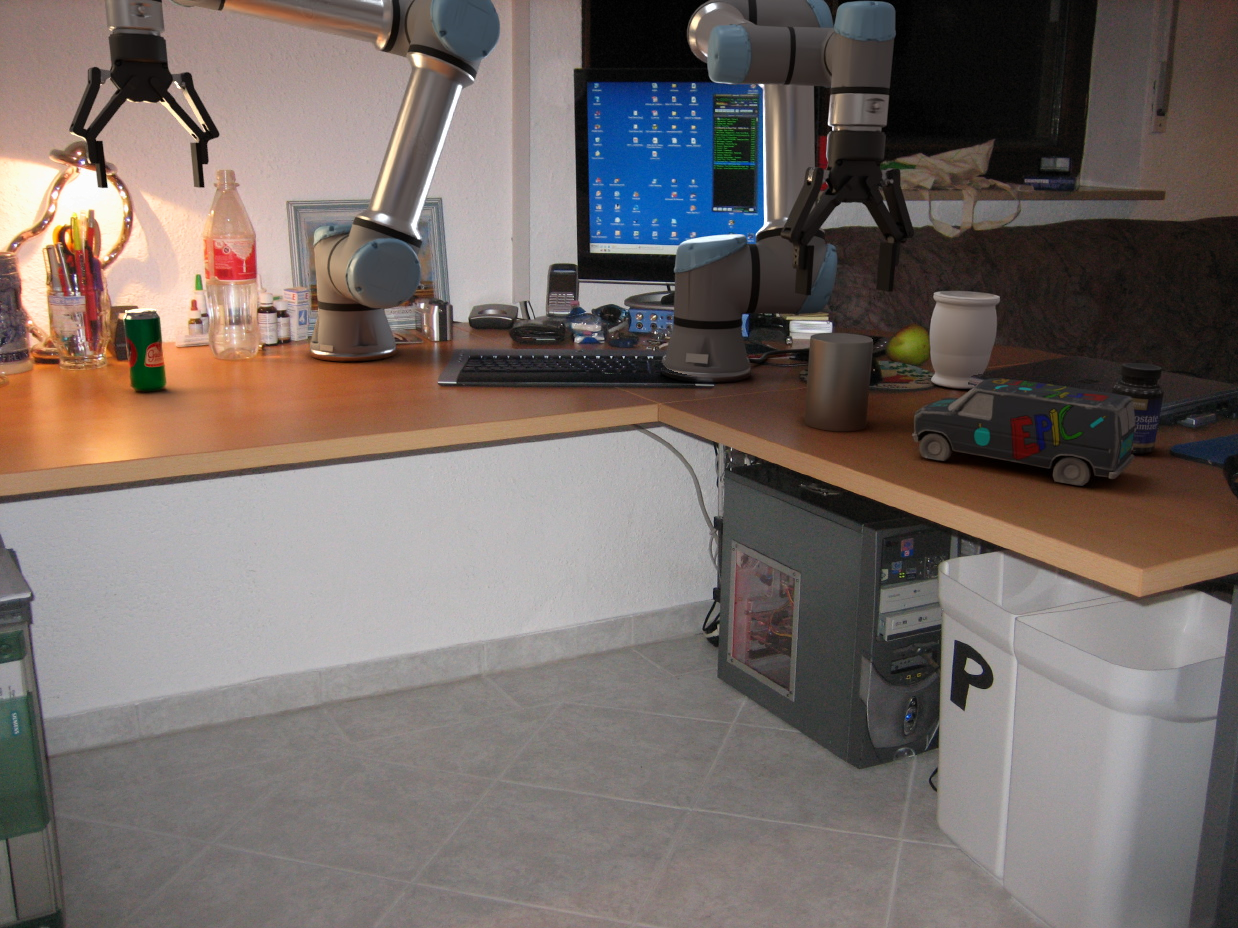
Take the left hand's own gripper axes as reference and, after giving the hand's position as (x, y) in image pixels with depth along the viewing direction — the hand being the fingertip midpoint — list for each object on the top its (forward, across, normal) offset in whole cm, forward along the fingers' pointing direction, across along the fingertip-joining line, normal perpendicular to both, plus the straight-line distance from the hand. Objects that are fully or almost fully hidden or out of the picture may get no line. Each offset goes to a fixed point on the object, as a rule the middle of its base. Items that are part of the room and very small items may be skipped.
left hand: (152, 188), depth 158 cm
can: (+30, +70, -74) cm, 106 cm away
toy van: (+30, +73, -101) cm, 128 cm away
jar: (+30, +108, -67) cm, 130 cm away
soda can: (+30, -4, -1) cm, 30 cm away
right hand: (+12, +70, -74) cm, 102 cm away
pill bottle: (+30, +92, -105) cm, 143 cm away
